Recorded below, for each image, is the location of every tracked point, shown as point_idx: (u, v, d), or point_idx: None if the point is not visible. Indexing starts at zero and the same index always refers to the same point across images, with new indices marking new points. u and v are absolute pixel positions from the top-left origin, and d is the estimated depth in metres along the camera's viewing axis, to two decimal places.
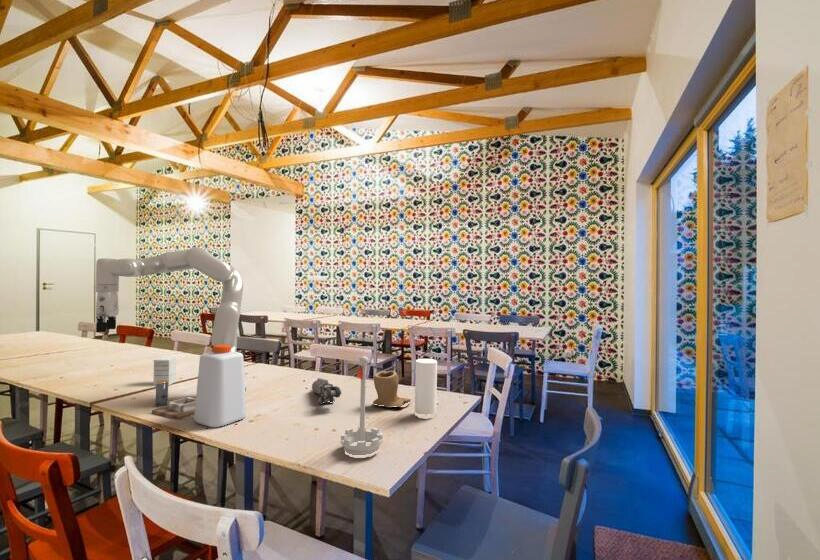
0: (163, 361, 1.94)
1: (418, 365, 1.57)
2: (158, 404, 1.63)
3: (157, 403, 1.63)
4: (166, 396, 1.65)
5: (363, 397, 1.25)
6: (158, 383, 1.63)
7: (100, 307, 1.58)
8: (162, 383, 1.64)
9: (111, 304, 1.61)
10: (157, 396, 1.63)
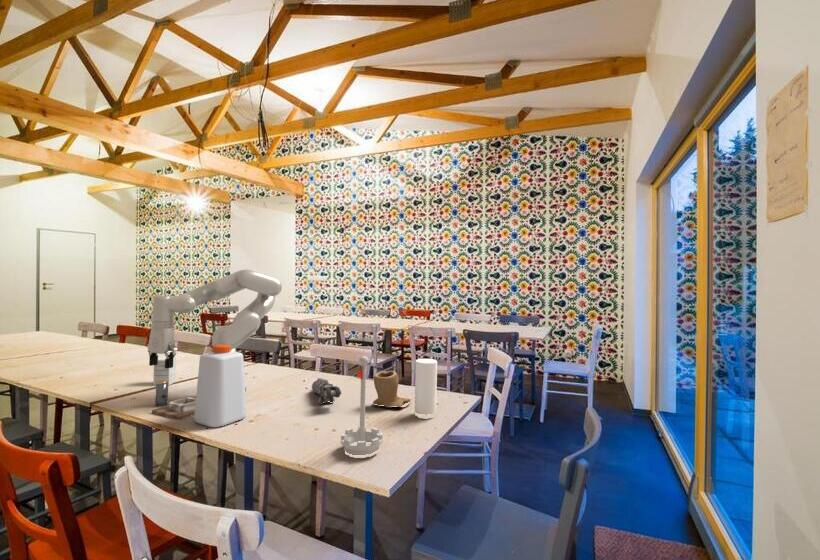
0: (163, 361, 1.94)
1: (418, 365, 1.57)
2: (158, 404, 1.63)
3: (157, 403, 1.63)
4: (166, 396, 1.65)
5: (363, 397, 1.25)
6: (158, 383, 1.63)
7: None
8: (162, 383, 1.64)
9: (150, 340, 1.64)
10: (157, 396, 1.63)
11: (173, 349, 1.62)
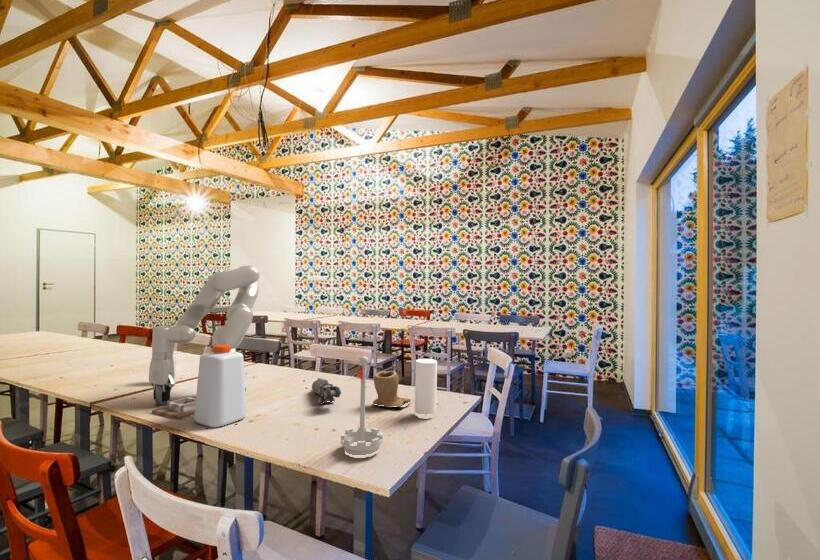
0: None
1: (418, 365, 1.57)
2: (158, 404, 1.63)
3: (157, 403, 1.63)
4: None
5: (363, 397, 1.25)
6: None
7: None
8: None
9: (150, 371, 1.64)
10: (157, 396, 1.63)
11: (171, 384, 1.62)
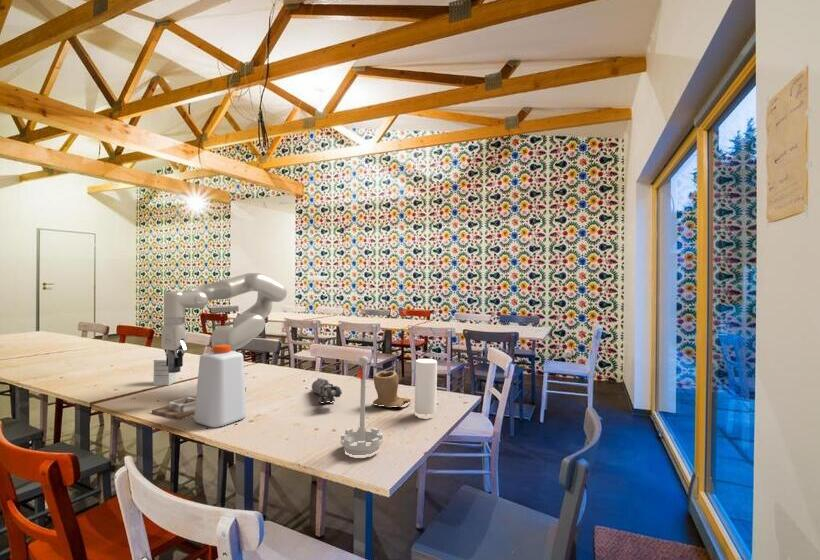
0: (163, 361, 1.94)
1: (418, 365, 1.57)
2: (170, 370, 1.61)
3: (169, 369, 1.61)
4: None
5: (363, 397, 1.25)
6: None
7: None
8: None
9: (163, 337, 1.62)
10: (169, 362, 1.61)
11: (182, 350, 1.59)
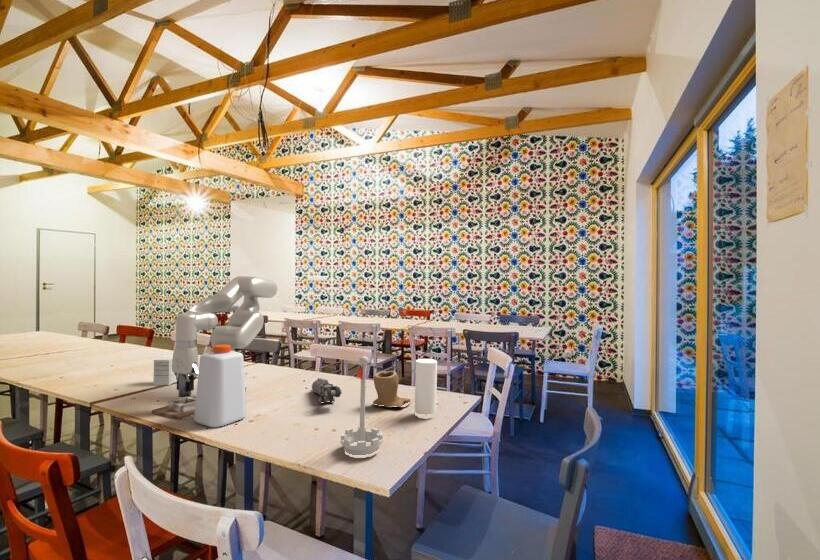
0: (163, 361, 1.94)
1: (418, 365, 1.57)
2: (181, 394, 1.57)
3: (180, 393, 1.57)
4: None
5: (363, 397, 1.25)
6: None
7: None
8: None
9: (174, 360, 1.59)
10: (180, 386, 1.58)
11: (195, 373, 1.57)
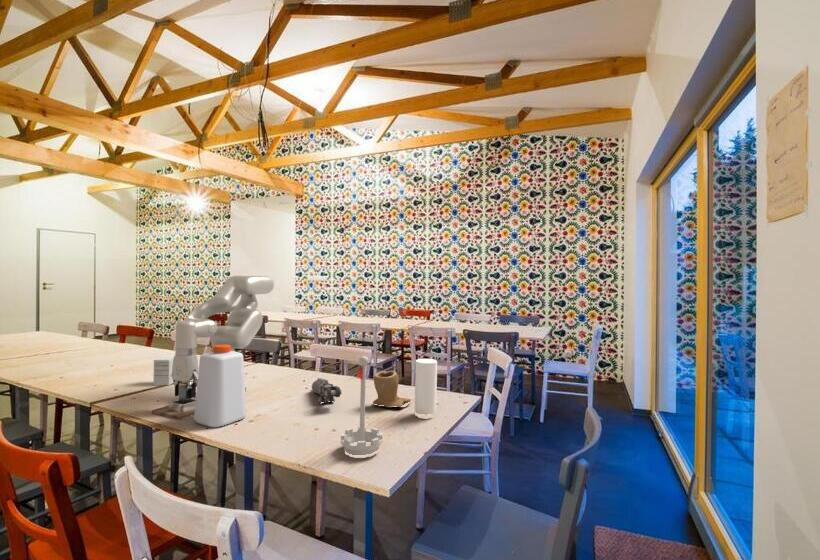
0: (163, 361, 1.94)
1: (418, 365, 1.57)
2: None
3: None
4: None
5: (363, 397, 1.25)
6: (181, 385, 1.57)
7: None
8: (185, 385, 1.58)
9: (173, 367, 1.59)
10: (180, 398, 1.58)
11: (196, 379, 1.56)
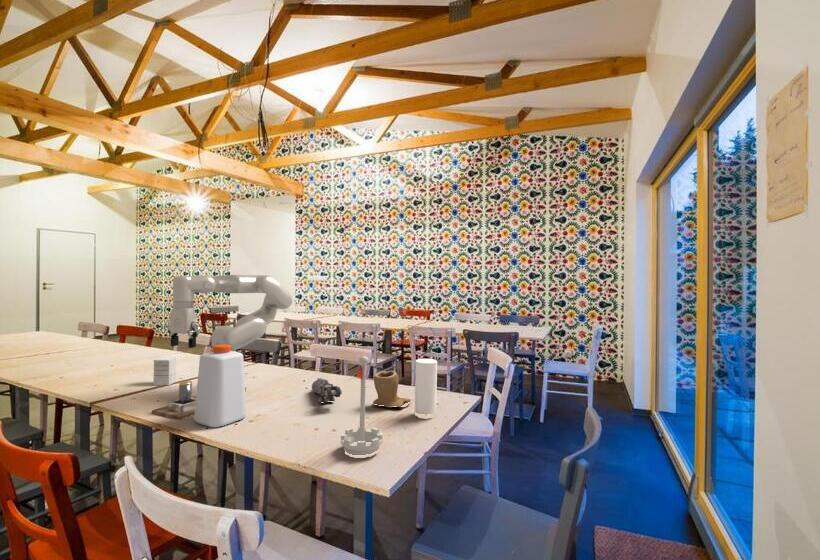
0: (163, 361, 1.94)
1: (418, 365, 1.57)
2: None
3: None
4: (189, 398, 1.59)
5: (363, 397, 1.25)
6: (182, 384, 1.58)
7: None
8: (186, 384, 1.58)
9: (171, 320, 1.65)
10: (180, 398, 1.58)
11: (196, 328, 1.63)
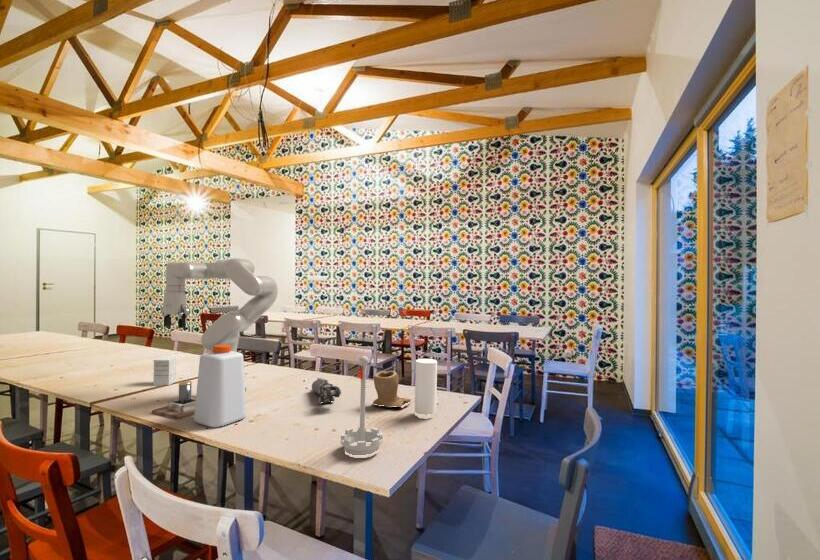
0: (163, 361, 1.94)
1: (418, 365, 1.57)
2: None
3: None
4: (189, 398, 1.59)
5: (363, 397, 1.25)
6: (181, 384, 1.58)
7: None
8: (185, 384, 1.58)
9: (164, 303, 1.82)
10: (180, 398, 1.58)
11: (185, 310, 1.79)
